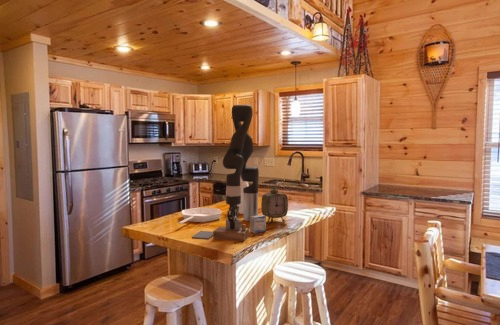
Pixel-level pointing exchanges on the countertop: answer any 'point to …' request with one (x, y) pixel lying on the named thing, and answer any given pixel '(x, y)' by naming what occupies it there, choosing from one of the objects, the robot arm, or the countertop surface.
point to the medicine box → (257, 223)
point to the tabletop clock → (274, 204)
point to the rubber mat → (203, 235)
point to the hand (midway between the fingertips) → (233, 227)
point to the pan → (201, 214)
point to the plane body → (231, 234)
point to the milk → (242, 186)
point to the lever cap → (237, 225)
